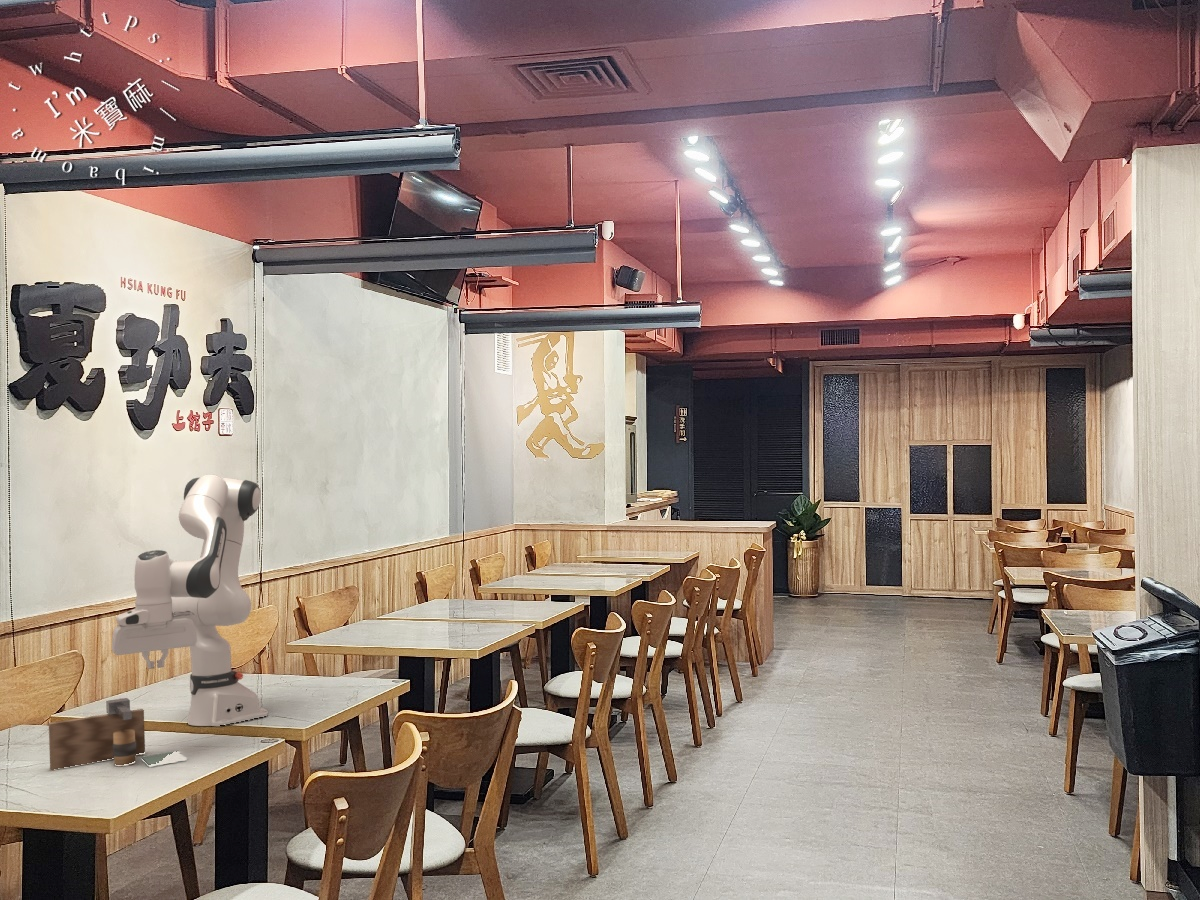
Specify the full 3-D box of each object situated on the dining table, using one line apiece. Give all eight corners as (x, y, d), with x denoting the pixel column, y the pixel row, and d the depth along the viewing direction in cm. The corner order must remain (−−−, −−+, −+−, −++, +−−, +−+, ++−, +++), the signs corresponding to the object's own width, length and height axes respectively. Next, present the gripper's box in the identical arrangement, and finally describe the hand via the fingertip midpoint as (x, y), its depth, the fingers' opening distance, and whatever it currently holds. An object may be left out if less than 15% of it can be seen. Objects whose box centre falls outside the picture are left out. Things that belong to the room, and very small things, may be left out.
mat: (178, 753, 276) (178, 750, 276) (186, 760, 269) (186, 757, 269) (141, 760, 271) (141, 757, 271) (149, 767, 264) (149, 764, 264)
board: (143, 752, 279) (142, 708, 279) (145, 754, 277) (143, 710, 277) (50, 768, 266) (48, 722, 266) (51, 770, 264) (49, 724, 264)
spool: (134, 759, 272) (133, 728, 272) (138, 763, 268) (137, 732, 268) (111, 763, 269) (110, 731, 269) (115, 768, 265) (114, 735, 265)
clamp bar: (127, 709, 277) (126, 697, 277) (138, 718, 266) (137, 706, 266) (106, 712, 274) (106, 700, 274) (116, 722, 263) (116, 710, 263)
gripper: (193, 608, 282) (194, 660, 282) (109, 617, 270) (111, 671, 270) (199, 611, 277) (200, 664, 277) (114, 619, 265) (115, 675, 265)
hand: (155, 667), depth 273 cm, fingers closed
